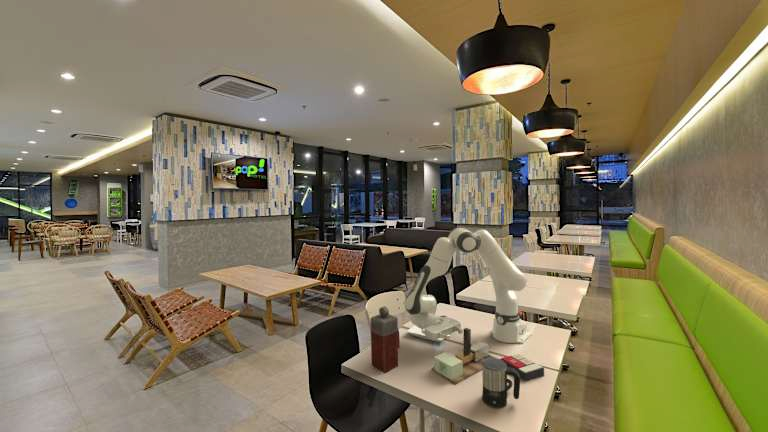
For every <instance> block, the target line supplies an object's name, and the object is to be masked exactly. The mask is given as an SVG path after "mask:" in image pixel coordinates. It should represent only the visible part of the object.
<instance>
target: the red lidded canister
mask: <svg viewBox="0 0 768 432" xmlns="http://www.w3.org/2000/svg"><path fill="white" fill-rule="evenodd" d="M389 310H390V309H389V308H388V307H387V306H385V305H384V306H381V307H379V309H378V311H379V314H377V315H374V316H372V317H371V318H370V345H371V346H370V347H371V348H370V349H371V351H370V352H371V354H370V356H371V367H372V366H373V368H374V369H376V370H377V369H378V370H377V371H379V370H380V371H379V372H381V373H382V372H383V374H387V373H388V372H390V371H392V370H394V369H396V368H398V367H399V349H400V347H401V346H400V343H401V342H400V330H399V325H398V324H399V323H398V321H399V319H398V317H397V316H395V315H392V314H391V313H389V312H390V311H389Z"/></svg>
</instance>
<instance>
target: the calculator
mask: <svg viewBox="0 0 768 432" xmlns="http://www.w3.org/2000/svg"><path fill="white" fill-rule="evenodd" d="M500 359H501V360H503V361H504V362H505V363H506V364H507V367H510V368H513V369H515V370H516V371H517V372H518V373H519V376H520V380H522V381H524V382H530V381H531V380H535V379H538V378H542V377H544V376H545V367H543V366H541V365H540V364H538V363H536V362H535V361H533V360H531V359H529V358H527V357H526V356H523V355H521V354H520V353H515V354H512V355H508V356H503V357H501V358H500Z"/></svg>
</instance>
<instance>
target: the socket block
mask: <svg viewBox="0 0 768 432" xmlns="http://www.w3.org/2000/svg"><path fill="white" fill-rule="evenodd" d="M434 367H435V371H437V372H439V373H440V374H442V375H444V376H445V377H447V378H449V379H450V380H453V379H455V378H457V377H459V376H461V375H463V361H462V360H460V359H458V358H456V356H454V355H452V354H450V353H448V352H447V351H445V352H443V353H441V354H438V355H436V356H434Z"/></svg>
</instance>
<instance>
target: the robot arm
mask: <svg viewBox="0 0 768 432" xmlns="http://www.w3.org/2000/svg"><path fill="white" fill-rule="evenodd" d="M458 250H459V251H461V252H462V253H466V254H469V253H473V252H474V251H476V252H477V253H478V255H479V256H480V257H481V259H482V260H483V263H484V264H485V265H486V266H487V267H488V268H489V271H488V275H489V277H490V279H491V282H492V285H493V289H494V293H495V310H494V311H495V312H494V318H493V323H492V329H491V330H490V332H491V333H492V337H493V338H494V339H495V340H496V341H499V342H502V343H507V344H513V343H514V344H524V343H525V342H526V341H527V340H528V339H529V338H530V337H531V336H532V331H529V330H528V324H527V323H526V322H525V321H523V320H522V319H521V317H520V316H522V315H523V312H522V311H520V310H518V309H519V300H518V296H517V294H516V292H521V291H523V290H524V289H526V287H527V285H528V278H527V276H526V274H524V273H523V272H522V271H521V270H520V269H519V268H518V267H517V266H516V265H515V263H513V262H512V261H511V259H510V258H509V257H508V256H507V255H506V253H505V252H504V251H503V249H502V248H501V246H500V245H499V244H498V241H497V240H496V239H495V237H493V236H492V234H491V233H490V232H489V231H488V230H486V229H479V230H476V231H475V232H472V231H471V230H469V229H466V228H464V227H460V226H457V227H453V228H452V229H451V230H450V231H449V233H448V234H446V236H444V237H443V236H441V237H439V238H437V240H436V242H435V244H434V245H433V248H432V250H431V253H430V256H429V258H428V260H427V262H426V263H425V264H424V266H422V267H421V268H420V270H419V272H418V273H417V276H416V279H415V281H414V283H413V285H412V287H411V289H410V292H409V293H408V295H406V297H405V300H404V309H405V310H406V312H407V313H408V314H409V320H410V322H411V324H413V326H414V325H415V326H417V327H418V328H420V329H422V331H421V332H422V333H423V334H425V336H427V337H428V338H430V339H431V340H430V341H432V340H436V339H438V338H444V340H449V339H450V337H451V336H450V334H453V333H455V332H457V333H458V334H460V335H461V334H463V329H462V326H461V325H462V323H461V321H459V320H456V319H454V318H452V317H449V316H448V315H435V314H436V311H437V307H438V302H437V299H436V297H435V296H434V295H432V294H424V291H425V288H426V287H427V284H428V283H429V282H430V281H431V280H433V279H435V278H437V277H439V276H440V277H441V276H443V275H445V274H446V273H447V272H448V270H449V268H450V265H451V263H452V259H453V256H454V255H455V253H456V252H457V251H458Z"/></svg>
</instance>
